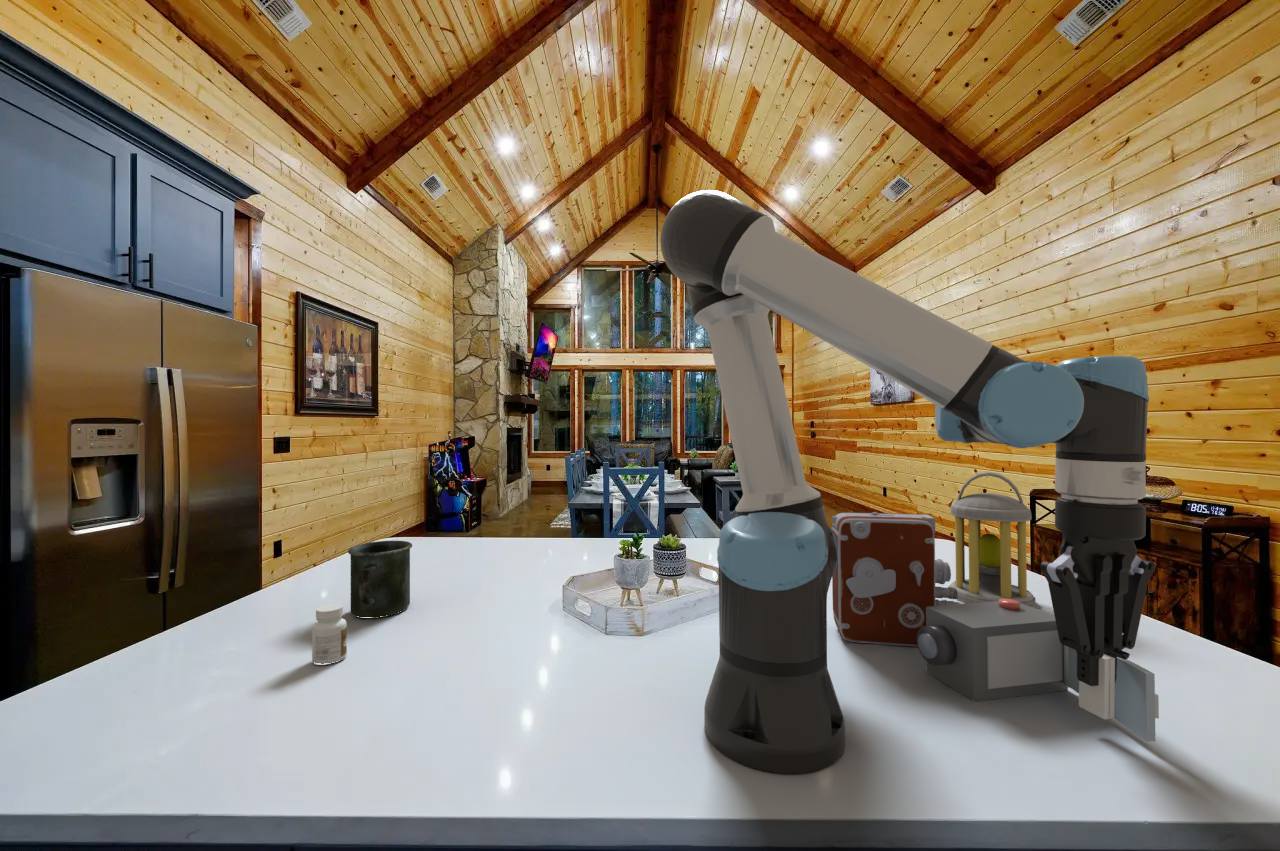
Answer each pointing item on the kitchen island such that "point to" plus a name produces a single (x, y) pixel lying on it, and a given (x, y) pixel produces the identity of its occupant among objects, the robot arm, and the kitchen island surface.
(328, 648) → the pill bottle
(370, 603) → the mug
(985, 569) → the lantern
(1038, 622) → the camera block
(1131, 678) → the side door
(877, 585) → the cine camera
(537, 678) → the kitchen island surface
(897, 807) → the kitchen island surface
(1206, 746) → the kitchen island surface
